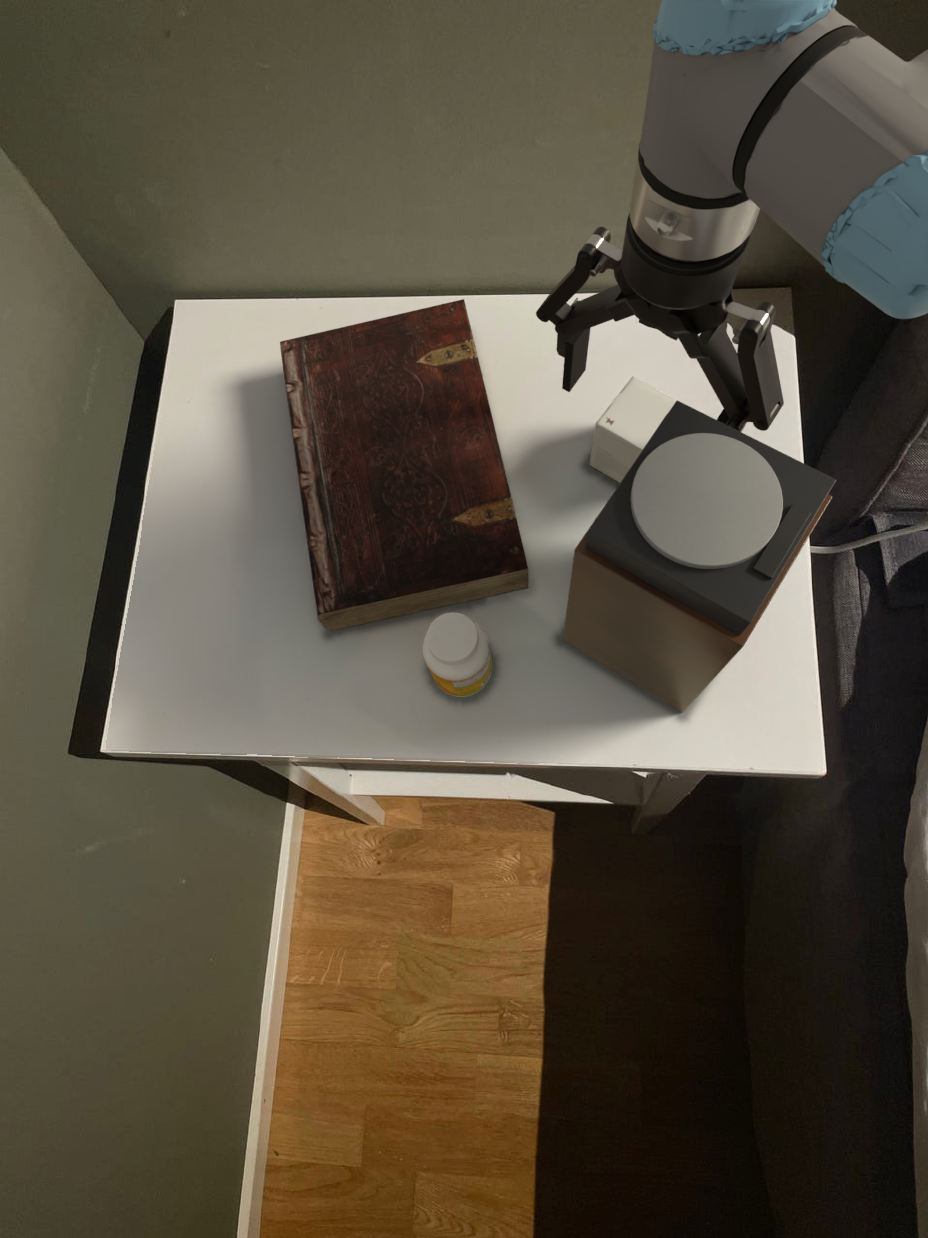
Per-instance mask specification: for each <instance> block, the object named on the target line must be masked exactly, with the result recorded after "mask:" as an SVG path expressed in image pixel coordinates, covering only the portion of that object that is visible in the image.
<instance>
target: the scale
mask: <svg viewBox="0 0 928 1238" xmlns="http://www.w3.org/2000/svg"><path fill="white" fill-rule="evenodd" d="M676 400H677V401H676V402H675V404H674V405H673V407H672V408H671V410H670V411H669V413H668V414H667V415H666V417H665V418H664V420H663V421H662V423H661V424H660V426H659V427H658V429H657V430H656V432H655V433H654V435H653V436H652V438H651V439H650V440H649V442H648V443H647V445H646V446H645V448H644V449H643V451H642V452H641V454H640V455H639V457H638V458H637V460H636V461H635V463H634V464H633V465H632V467H631V468H630V470H629V471H628V473H627V474H626V476H625V477H624V479H623V480H622V482H621V483H619V484H620V485H619V484H618V485H619V486H618V485H617V487H618V488H617V487H616V488H617V489H616V488H615V490H616V491H615V490H614V491H615V492H614V491H613V492H614V493H612V494H613V495H612V494H611V495H612V496H610V497H611V498H610V497H609V498H610V499H609V498H608V500H609V501H608V500H607V501H608V502H607V501H606V503H607V504H606V503H605V504H606V505H605V504H604V506H605V507H604V506H603V507H604V508H603V507H602V509H603V510H602V509H601V510H602V511H601V510H600V512H601V513H600V512H599V513H600V514H599V513H598V515H599V516H598V515H597V516H598V517H597V516H596V517H597V518H596V517H595V519H596V520H595V519H594V520H595V521H594V520H593V522H594V523H593V522H592V523H593V524H591V525H592V526H591V525H590V526H591V527H589V528H590V529H589V528H588V529H589V530H588V529H587V531H588V533H587V539H586V545H585V548H587V549H588V550H590V551H592V552H594V553H595V554H597V555H599V556H601V557H602V558H604V559H606V560H608V561H609V562H611V563H613V564H615V565H616V566H618V567H620V568H622V569H623V570H625V571H627V572H629V573H630V574H632V575H634V576H636V577H638V578H639V579H641V580H643V581H645V582H646V583H648V584H650V585H652V586H653V587H655V588H657V589H659V590H660V591H662V592H664V593H666V594H667V595H669V596H671V597H673V598H674V599H676V600H678V601H680V602H681V603H683V604H685V605H687V606H689V607H690V608H692V609H694V610H696V611H697V612H699V613H701V614H703V615H704V616H706V617H708V618H710V619H711V620H713V621H715V622H717V623H718V624H720V625H722V626H724V627H725V628H727V629H729V630H731V631H732V632H734V633H736V634H738V635H741V634H742V633H743V631H744V630H745V629H746V628H747V627H748V626H749V624H750V623H751V622H752V620H753V619H754V617H755V615H756V614H757V612H758V610H759V609H760V607H761V605H762V604H763V602H764V600H765V599H766V597H767V595H768V594H769V592H770V590H771V589H772V587H773V585H774V584H775V582H776V580H777V579H778V577H779V575H780V574H781V572H782V570H783V569H784V567H785V565H786V564H787V562H788V560H789V559H790V557H791V555H792V554H793V552H794V550H795V549H796V547H797V545H798V544H799V542H800V540H801V539H802V537H803V535H804V534H805V532H806V530H807V529H808V527H809V525H810V524H811V522H812V520H813V519H814V517H815V515H816V514H817V512H818V510H819V509H820V507H821V505H822V504H823V502H824V500H825V499H826V497H827V495H828V494H829V493H830V492H831V490H832V489H833V487H834V485H835V483H836V482H837V479H836V478H834V477H832V476H830V475H828V474H826V473H824V472H822V471H820V470H818V469H816V468H814V467H812V466H810V465H808V464H806V463H803V462H802V461H799V460H797V458H794V457H792V456H790V455H788V454H785V453H784V452H783V451H780V450H778V449H775V448H774V447H772V446H769V445H767V444H765V443H764V442H762V441H760V440H758V439H756V438H753V437H751V436H750V435H748V434H746V433H744V432H743V431H742V432H740V431H738V430H736V429H734V428H732V427H730V426H728V425H726V424H724V423H722V422H720V421H718V420H717V418H713V417H711V416H710V415H708V414H706V413H703V412H702V411H700V410H698V409H696V408H693V407H692V406H690V405H687V404H685V402H682V401H680V400H678V399H676ZM829 495H830V494H829Z"/></svg>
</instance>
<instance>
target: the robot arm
mask: <svg viewBox="0 0 928 1238" xmlns="http://www.w3.org/2000/svg"><path fill="white" fill-rule="evenodd" d="M837 2H838V1H837V0H661V2H660V6H659V10H658V15H657V16H656V19H655V21H654V24H653V32H652V36H653V48H652V54H651V56H652V57H651V63H650V72H649V80H648V85H647V93H646V98H645V99H646V101H645V106H644V114H643V120H642V128H641V134H640V140H639V144H638V150H637V158H636V164H635V165H636V166H635V170H634V177H633V182H632V188H631V193H630V194H631V195H630V201H629V212H628V216H627V219H626V225H625V231H624V237H623V243H622V244H623V245H622V249H621V248H619V247H617V246H616V245H614V244H612V243H611V242H610V241H611V238H612V235H611V233H610V231H609V230H608V229H607V228H606V227H604V226H598V227H596V229H595V230H593V233H592V234H591V235H590V237H589V238H588V239H587V241H585V243H584V244H583V246H582V247H581V249H580V250H579V252H577V257H576V260H575V264H574V266H573V267H572V268H571V269H570V270H569V271H568V272H567V273H566V274H565V276H563V278H562V279H561V280H560V281H559V282H558V283H557V284H556V286H555V287H553V289H552V290H551V292H550V293H549V294H548V295H547V297H546V298H545V300H544V301H543V302H542V303H541V305H539V308H538V309H537V310H536V311H535V316H536V317H537V319H538V320H539V321H541V322H542V323H547V322H550V323H552V324H553V325H554V330H555V333H556V350H555V351H556V353H557V355H558V356H559V357H562V358H564V359H563V371H562V385H561V386H562V387H561V389H562V390H564V391H566V392H568V393H570V392H571V391H572V390H573V388H574V387H575V386H576V384H577V383H578V381H579V380H580V378H581V377H582V376H583V374H584V373H585V371H587V370H586V369H587V360H588V354H589V353H588V352H589V345H590V336H591V328H593V327H596V326H599V325H601V324H604V323H607V322H610V321H612V320H613V321H614V322H615V323H616V322H620V321H622V320H625V319H627V318H631V317H632V316H635V317H636V319H638V323H639V324H641V325H643V326H645V327H647V328H651V329H655V330H658V331H659V332H660V333H662V334H664V336H666V337H668V338H669V339H672V340H674V341H678V340H679V342H680V343H681V345H682V347H683V350H684V351H685V352H686V354H687V356H688V357H689V359H692V360H693V359H696V361H697V363H698V364H699V367H700V368H701V370H702V372H703V374H704V376H705V378H706V379H707V381H708V384H710V386H711V388H712V390H713V392H714V394H715V395H716V397H717V399H718V401H719V403H720V404H721V407H722V408H723V409H722V411H720V413H719V415H718V416H717V418H716V420H718V421H720V422H722V423H724V424H726V425H728V426H730V427H732V428H734V429H736V430H738V431H740V432H742V433H743V431H744V429H745V427H746V426H747V424H748V423H752V425H753V427H754V428H755V429H757V430H759V431H761V432H763V431H764V432H765V431H768V429H769V428H770V426H772V423H773V422H774V421H775V419H776V418H777V416H778V414H779V413H780V411H781V410H782V407H783V406H784V404H785V401H784V396H783V391H782V390H783V389H782V384H781V379H780V374H779V368H778V363H777V358H776V353H775V352H776V351H775V347H774V340H773V335H772V326H773V324H774V319H775V316H776V307H775V305H773V303H771V302H769V301H761V302H760V303H759V304H758V305H757V307H756V308H753V307H750V306H747V305H744V304H742V303H738V302H736V300H735V296H734V292H733V288H734V284H735V282H736V278H737V276H738V272H739V269H740V268H741V267H740V266H741V264H742V261H743V259H744V255H745V252H746V250H747V247H748V244H749V241H750V238H751V233H752V231H753V229H754V227H755V226H756V222H757V220H758V217H759V214H760V211H762V212H764V213H765V215H767V216H768V217H769V218H770V220H772V221H773V222H774V223H775V224H777V226H779V227H780V229H782V230H783V231H784V232H785V233H787V234H788V236H790V237H791V238H792V239H793V240H794V241H795V242H797V243H798V244H799V245H800V246H801V247H802V248H803V249H804V250H805V251H806V252H807V253H809V254H810V255H811V256H812V257H813V258H814V259H815V260H816V261H817V262H819V263H820V264H821V265H822V266H823V267H824V270H825V272H826V273H828V274H829V276H831V277H832V278H833V279H834V280H835V282H837V283H841V284H846V285H847V286H848V287H850V288H851V289H852V290H854V291H855V292H856V293H858V294H859V295H861V297H863V298H864V299H866V300H867V301H869V303H871V305H874V306H875V307H876V308H878V309H879V310H880V311H882V312H883V313H884V314H886V315H887V316H889V317H891V318H894V319H900V320H909V319H915V318H918V317H922V316H925V315H926V314H928V49H926V50H924V51H923V52H922V53H920V54H918V55H916V56H915V57H914V58H913V59H912V58H911V60H909V61H905V60H904V59H902V58H901V57H899V56H898V55H896V54H895V53H894V52H892V51H891V50H889V49H888V48H887V47H885V46H884V45H882V44H881V43H880V42H878V41H877V40H875V38H873V37H871V36H870V35H868V34H867V33H865V32H864V31H863V30H861V29H860V28H859V27H858V26H857V25H856V23H854V22H852V20H849V19H848V18H846V17H845V16H844V15H842V14H841V13H839V11H837V10H836V8H835V7H836V5H837V4H838V3H837ZM607 270H613V276H614V280H615V282H616V283H617V284H616V285H613V286H611V287H608V288H607V289H604V290H602V291H600V292H597V293H595V294H593V295H590V296H588V297H586V298H583V299H581V300H579V298H578V297H576V298H575V299H574V300H573V302H572V303H571V305H570V304H568V302H569V301H570V300H571V299H572V298H573V297H574V296H575V294H577V292H579V290H581V288H582V287H584V285H585V284H586V283H587V281H589V279H590V277H594V278H595V277H597V276H598V275H599V274H604V273H605V272H606V271H607ZM728 325H729V326H730V327H731V329H732V334H733V336H732V338H730V336H729V334H728V330H727V329H728ZM734 345H737V349H736V348H735V346H734Z"/></svg>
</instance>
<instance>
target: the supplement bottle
mask: <svg viewBox="0 0 928 1238" xmlns="http://www.w3.org/2000/svg"><path fill="white" fill-rule="evenodd" d="M422 655H423V660H424V662H425V664H426V666H427V669H428V670H429V672H430V675H431V676H432V678H433V680H434V683H435V684H436V685H437V687H438V689H440V690H441V691H443V692H444V693H445V694H447V695H450V696H451V697H457V698H465V697H471V696H473V695H476V694H478V693H479V692H480V691H482V690H483V689H484V688H485V687H486V686H487V685H488V683H489V682H490V679H491V677H492V673H493V659H492V653H491V649H490V643H489V639H488V636H487V633H486V631H485V630H484V628H483V627H482V626H481V625H480V624H479V623H478V622H477V621H475V620H474V619H472V618H470V617H468V616H467V615H466V614H463V613H460V612H454V611H453V612H452V611H451V612H446V613H443V614H441V615H439V616H437V617H436V618H434V620H433V621H432V622H431V623H430V625H429V627H428V629H427V631H426V633H425V635H424V638H423V641H422Z"/></svg>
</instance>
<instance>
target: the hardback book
mask: <svg viewBox="0 0 928 1238" xmlns="http://www.w3.org/2000/svg"><path fill="white" fill-rule="evenodd" d="M279 346H280V355H281V363H282V369H283V378H284V385H285V391H286V399H287V408H288V413H289V420H290V427H291V436H292V441H293V451H294V457H295V464H296V471H297V478H298V485H299V492H300V500H301V506H302V514H303V522H304V529H305V535H306V544H307V550H308V557H309V565H310V574H311V579H312V586H313V587H312V588H313V593H314V601H315V608H316V615H317V620H318V622H319V623H320V624H321V626H322V627H323V628H324V629H325V630H328V631H330V632H334V631H338V630H342V629H346V628H352V627H355V626H360V625H361V626H362V625H365V624H371V623H374V622H379V621H383V620H389V619H392V618H397V617H398V618H399V617H401V616H407V615H412V614H417V613H422V612H425V611H430V610H435V609H440V608H443V607H448V606H452V605H457V604H461V603H466V602H471V601H476V600H481V599H484V598H490V597H494V596H499V595H502V594H507V593H512V592H513V593H514V592H517V591H523V590H526V589H529V576H530V575H529V572H530V571H529V564H528V561H527V557H526V552H525V548H524V544H523V540H522V536H521V532H520V527H519V523H518V518H517V515H516V510H515V506H514V502H513V498H512V493H511V489H510V487H509V486H510V485H509V481H508V477H507V473H506V468H505V465H504V460H503V457H502V452H501V449H500V443H499V440H498V436H497V435H498V434H497V431H496V427H495V422H494V418H493V415H492V410H491V405H490V402H489V398H488V397H489V396H488V394H487V389H486V385H485V381H484V376H483V372H482V368H481V364H480V360H479V356H478V352H477V347H476V344H475V340H474V335H473V330H472V327H471V321H470V318H469V315H468V309H467V306H466V302H465V299H464V298H462V299H458V300H453V301H449V302H445V303H441V304H437V305H433V306H428V307H424V308H420V309H415V310H410V311H407V312H402V313H398V314H393V315H389V316H385V317H381V318H376V319H372V320H368V321H367V320H366V321H364V322H358V323H355V324H351V325H345V326H342V327H338V328H333V329H329V330H324V331H321V332H315V333H312V334H307V335H302V336H298V337H295V338H290V339H285V340H281V341H279Z"/></svg>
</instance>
